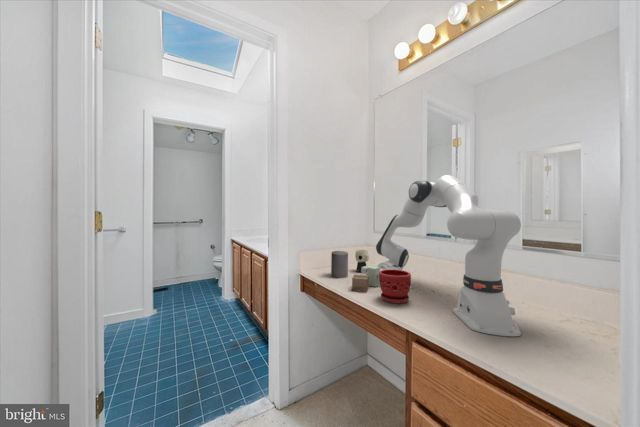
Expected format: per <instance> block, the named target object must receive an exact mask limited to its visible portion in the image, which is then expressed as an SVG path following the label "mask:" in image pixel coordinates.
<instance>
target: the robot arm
mask: <svg viewBox="0 0 640 427" xmlns="http://www.w3.org/2000/svg"><path fill="white" fill-rule="evenodd" d="M478 205H479V196H478V195H477V194H476V193H475V192H474V191H473V190H472V189H471V188H470V187H468V185H467V184H465V183H464V182H463V181H461V180H460V179H459V178H457V177H455V176H453V175H450V174H446V175H445V174H444V175H442V176H441V177H439V178H438V179H437V180H436V182H432V181H430V180H417V181H414V182H413V183H411V184H410V186H409V188H408V197H407V199H406V201H405V204H404V206H403V209H402V210H401V212H400V213H399V214H395V215H394V216H393V217H392V219H391V220H390V222H389V223H388V226H387V227H386V229H385V231H384V232H383V234H382V235H381V238H380V239H379V240H378V242H377V243H376V245H375V250H376V253H377V254H378V255H380V256H382V257H385V258H386V259H388V260H387V261H384V262H380V263H379V264H378V265H377V266H375V265H374V266H375V267H380V271H382V270H402V271H403V270H404V267H405V266H406V265H407V263H408V261H409V259H410V257H409V256H410V255H409V251H408V249H407V248H405V247H403V246H401V245H399V244H397V243H395V242H393V241H392V240H391V238H393V235H394V234H395V231H396V230H397V229H398V228H410V229H412V228H416V227H418V226H419V225H420V224H422V222H423V220H424V218H425V214H426V212H427V209H428V208H429V207H430V206H431V207H434V208H448V210H449V212H450V215H449V216H448V218H447V222H446V228H447V230H448V232H449V233H450V235H451V236H452V237H454V238H457V239H461V240H468V241H469V240H472V241H474V240H477V242H476V243H475V245H474V246H473V248H471V249H470V250H469V251H467V252H466V254H465V257H464V258H465V259H464V260H465V261H464V274H463V279H462V282H463V283H462V284H463V286H462V287H461V288H460V289H459V290H458V297H457V307H454V308H453V309H452V312H453V313H454V314H455V315H456V316H457V317H458V318H459V320H461V321H462V322H463V323H464V324H465V325H466V326H467V327H468V328H470V330H473V331H475V332H479V333H482V334H488V335H492V336H502V337H520V336H521V335H522V334H521V333H522V332H521V330H520V329H519V328H520V327H518V325H517V323H516V321H515V319H514V317H513V316H514V315H515V314H516V309H515V307H510V306H509V305H510V300H508V299H507V298H506V295H505V293H504V284H503V280H502V277H501V276H502V262H503V261H502V259H503V256H504V253H505V250H506V248H507V246H508V244H509V242H510V241H511V240H512V239H513V238H514V237H515V236H517V235H518V234H519V232H520V231H521V228H522V223H521V219H520V217H519V216H518V214H516V213H515V212H512V211H509V210H504V209H500V208H499V209H498V208H497V209H495V208H494V209H493V208H492V209H485V208H480V207H478ZM370 266H371V265H366V266H364V267H362V268H361V272H360V273H361V275H367V267H370ZM377 278H379V274H377Z"/></svg>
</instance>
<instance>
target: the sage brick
mask: <svg viewBox="0 0 640 427" xmlns="http://www.w3.org/2000/svg"><path fill="white" fill-rule="evenodd" d="M369 266H370V267H367V275H369V287H370V286H371V287H374V288H376V287H378V286H380V283H379V278H377V274H379V272H380V267H377V266H376V267H375V265H369Z"/></svg>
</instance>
